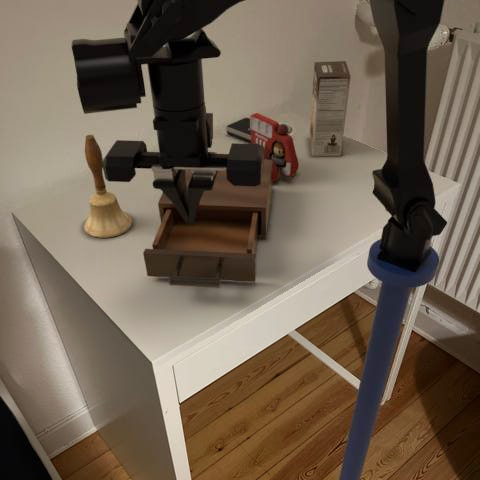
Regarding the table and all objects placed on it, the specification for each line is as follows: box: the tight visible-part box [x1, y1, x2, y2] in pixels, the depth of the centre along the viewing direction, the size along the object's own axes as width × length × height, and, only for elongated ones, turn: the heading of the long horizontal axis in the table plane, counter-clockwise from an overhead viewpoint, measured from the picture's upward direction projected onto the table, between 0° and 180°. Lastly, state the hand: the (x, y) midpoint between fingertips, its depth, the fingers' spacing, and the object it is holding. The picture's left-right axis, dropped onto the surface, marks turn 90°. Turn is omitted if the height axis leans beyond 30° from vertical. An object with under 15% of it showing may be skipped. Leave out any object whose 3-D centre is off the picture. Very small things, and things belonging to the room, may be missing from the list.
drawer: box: [143, 208, 260, 289], centre depth 78 cm, size 20×16×4 cm
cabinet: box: [157, 160, 274, 240], centre depth 89 cm, size 17×18×6 cm
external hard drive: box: [225, 117, 251, 144], centre depth 113 cm, size 7×11×2 cm, turn 46°
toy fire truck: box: [249, 112, 300, 183], centre depth 98 cm, size 7×12×10 cm, turn 38°
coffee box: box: [309, 60, 351, 157], centre depth 104 cm, size 9×6×16 cm
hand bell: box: [83, 134, 133, 239], centre depth 83 cm, size 8×8×16 cm
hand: (191, 223), depth 66 cm, fingers closed
